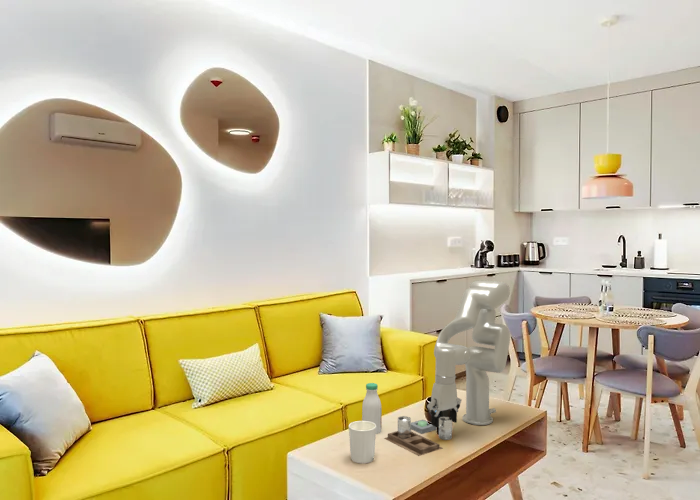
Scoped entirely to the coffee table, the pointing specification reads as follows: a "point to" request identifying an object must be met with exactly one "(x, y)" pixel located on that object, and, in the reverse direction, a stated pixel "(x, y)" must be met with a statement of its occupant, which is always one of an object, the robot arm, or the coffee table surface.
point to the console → (422, 429)
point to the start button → (422, 423)
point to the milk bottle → (372, 407)
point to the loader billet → (404, 427)
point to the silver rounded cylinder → (445, 428)
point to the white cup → (362, 441)
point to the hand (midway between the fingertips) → (444, 423)
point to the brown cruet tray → (414, 443)
